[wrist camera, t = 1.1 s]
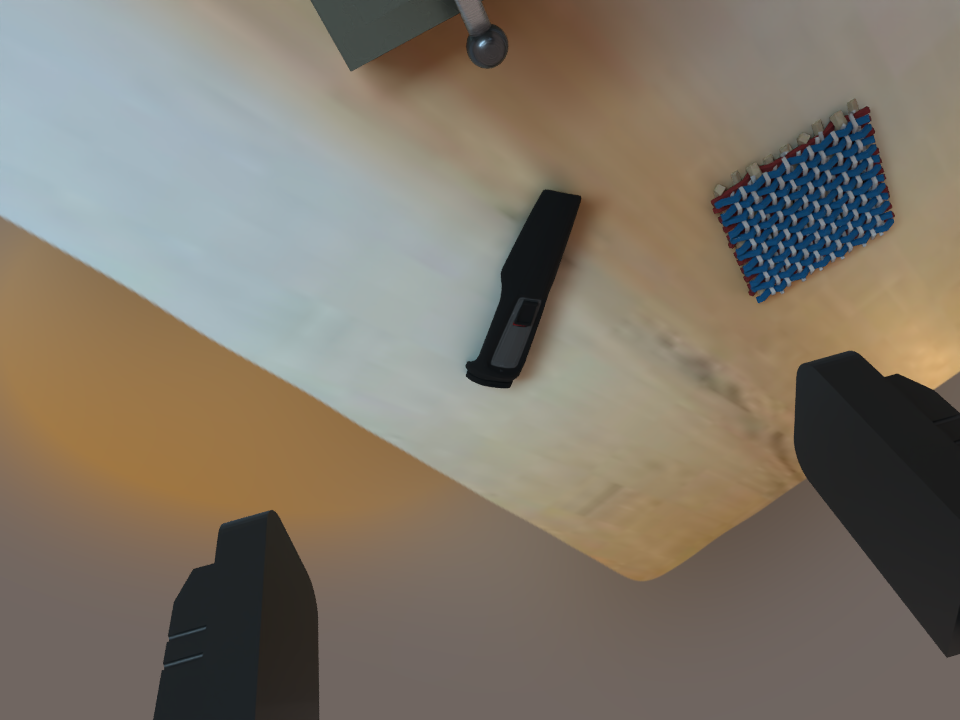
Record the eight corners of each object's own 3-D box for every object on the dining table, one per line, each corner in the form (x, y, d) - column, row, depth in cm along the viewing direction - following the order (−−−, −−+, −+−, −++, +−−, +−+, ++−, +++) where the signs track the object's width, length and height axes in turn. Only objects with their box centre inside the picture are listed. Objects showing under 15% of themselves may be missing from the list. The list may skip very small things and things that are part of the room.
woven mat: (887, 213, 53) (906, 228, 52) (746, 294, 55) (760, 311, 54) (858, 89, 47) (878, 101, 45) (699, 186, 49) (713, 202, 47)
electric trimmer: (588, 179, 47) (605, 203, 45) (508, 375, 55) (519, 404, 53) (532, 167, 46) (547, 191, 43) (459, 370, 54) (468, 400, 52)
